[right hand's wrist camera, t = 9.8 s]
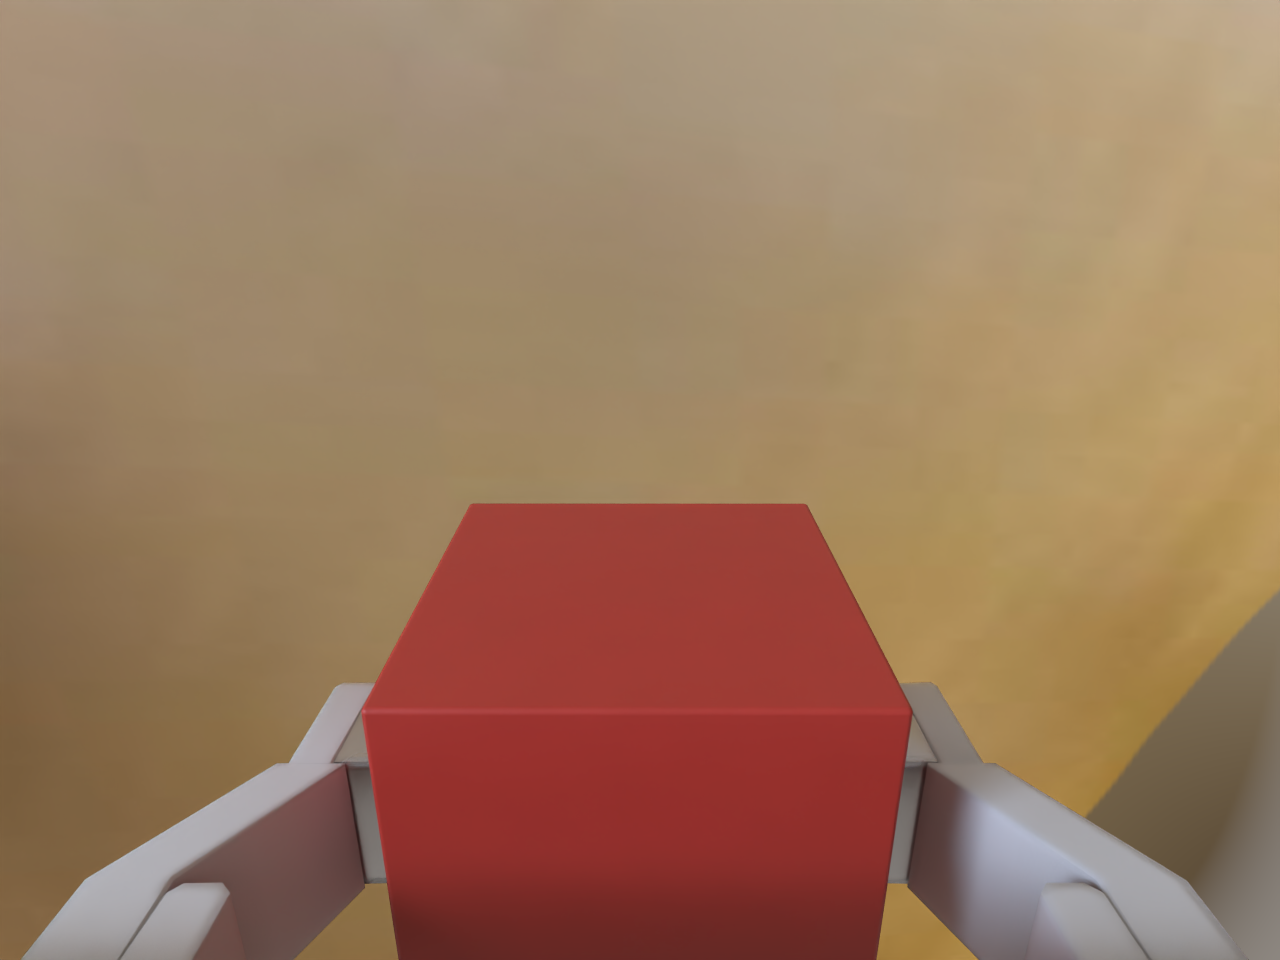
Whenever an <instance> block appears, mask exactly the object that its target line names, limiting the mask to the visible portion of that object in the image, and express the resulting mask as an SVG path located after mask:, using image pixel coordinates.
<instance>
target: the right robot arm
mask: <svg viewBox="0 0 1280 960" xmlns="http://www.w3.org/2000/svg"><path fill="white" fill-rule="evenodd" d="M899 684H900V686H901V688H902V690H903V692H904V694H905V696H906V698H907V700H908V702H909V704H910V706H911V707H912V710H913V715H912V722H911V729H910V736H909V742H908V749H907V756H906V763H905V769H904V776H903V783H902V790H901V796H900V803H899V810H898V816H897V823H896V830H895V837H894V843H893V850H892V857H891V864H890V870H889V877H888V883H904V884H908V886H907V887H908V888H909V889H910V890H911V891H912V892H913V893H914V894H915V895H916V896H917V897H918V898H919V899H920V900H921V901H922V902H923V903H924V904H925V905H926V906H927V907H928V908H929V909H930V910H931V911H932V912H933V913H934V914H935V915H936V917H937V918H938V919H939V920H940V921H941V922H942V923H943V924H944V925H945V926H946V927H947V928H948V929H949V930H950V931H951V932H952V933H953V934H954V935H955V936H956V937H957V938H958V939H959V940H960V941H961V942H962V943H963V944H964V945H965V946H966V947H967V948H968V949H969V950H970V951H971V952H972V953H973V954H974V955H975V956H976V957H977V958H978V959H979V960H1249V959H1248V958H1247V957H1246V956H1245V954H1244V953H1243V952H1242V951H1241V949H1240V948H1239V947H1238V946H1237V944H1236V943H1235V942H1234V940H1233V939H1232V938H1231V936H1230V935H1229V934H1228V933H1227V931H1226V930H1225V929H1224V928H1223V926H1222V925H1221V924H1220V922H1219V921H1218V920H1217V919H1216V917H1215V916H1214V915H1213V914H1212V912H1211V911H1210V910H1209V908H1208V907H1207V906H1206V905H1205V903H1204V902H1203V901H1202V899H1201V898H1200V897H1199V896H1198V894H1197V893H1196V892H1195V891H1194V889H1193V888H1192V887H1191V885H1190V884H1189V883H1188V882H1187V881H1186V880H1185V879H1183V878H1182V877H1180V876H1178V875H1177V874H1175V873H1173V872H1172V871H1170V870H1169V869H1167V868H1165V867H1164V866H1162V865H1160V864H1159V863H1157V862H1156V861H1154V860H1152V859H1150V858H1149V857H1147V856H1146V855H1144V854H1142V853H1141V852H1139V851H1138V850H1136V849H1134V848H1133V847H1131V846H1129V845H1128V844H1126V843H1124V842H1123V841H1121V840H1120V839H1118V838H1116V837H1115V836H1113V835H1111V834H1110V833H1108V832H1107V831H1105V830H1103V829H1102V828H1100V827H1098V826H1097V825H1095V824H1093V823H1092V822H1090V821H1089V820H1087V819H1085V818H1084V817H1082V816H1080V815H1079V814H1077V813H1076V812H1074V811H1072V810H1071V809H1069V808H1067V807H1066V806H1064V805H1062V804H1061V803H1059V802H1058V801H1056V800H1054V799H1053V798H1051V797H1049V796H1048V795H1046V794H1044V793H1043V792H1041V791H1040V790H1038V789H1036V788H1035V787H1033V786H1031V785H1030V784H1028V783H1027V782H1025V781H1023V780H1022V779H1020V778H1018V777H1017V776H1015V775H1013V774H1012V773H1010V772H1009V771H1007V770H1005V769H1004V768H1002V767H1000V766H999V765H997V764H996V763H983V761H982V760H981V758H980V756H979V755H978V753H977V751H976V750H975V748H974V746H973V745H972V743H971V741H970V740H969V738H968V736H967V735H966V733H965V732H964V730H963V728H962V727H961V725H960V723H959V722H958V720H957V718H956V717H955V715H954V713H953V712H952V710H951V708H950V707H949V705H948V703H947V702H946V700H945V699H944V697H943V695H942V694H941V692H940V690H939V689H938V687H937V686H936V685H934V684H933V683H931V682H921V683H899ZM374 685H375V683H342V684H340V685H338V686H336V687H335V688H334V690H333V691H332V693H331V695H330V696H329V698H328V699H327V701H326V703H325V704H324V706H323V708H322V709H321V711H320V712H319V714H318V716H317V717H316V719H315V721H314V722H313V724H312V726H311V727H310V729H309V730H308V732H307V734H306V735H305V737H304V739H303V740H302V742H301V744H300V745H299V747H298V748H297V750H296V752H295V753H294V755H293V757H292V758H291V760H290V761H289V763H277V764H275V765H273V766H272V767H270V768H268V769H267V770H265V771H263V772H262V773H260V774H258V775H257V776H255V777H253V778H252V779H250V780H248V781H247V782H245V783H244V784H242V785H240V786H239V787H237V788H235V789H234V790H232V791H230V792H229V793H227V794H225V795H224V796H222V797H220V798H219V799H217V800H215V801H214V802H212V803H210V804H209V805H207V806H205V807H204V808H202V809H201V810H199V811H197V812H196V813H194V814H192V815H191V816H189V817H187V818H186V819H184V820H182V821H181V822H179V823H177V824H176V825H174V826H172V827H171V828H169V829H167V830H166V831H164V832H163V833H161V834H159V835H158V836H156V837H154V838H153V839H151V840H149V841H148V842H146V843H144V844H143V845H141V846H139V847H138V848H136V849H134V850H133V851H131V852H129V853H128V854H126V855H124V856H123V857H121V858H120V859H118V860H116V861H115V862H113V863H111V864H110V865H108V866H106V867H105V868H103V869H101V870H100V871H98V872H96V873H95V874H93V875H91V876H90V877H88V878H86V879H85V880H84V881H83V883H82V884H81V885H80V886H79V888H78V889H77V890H76V891H75V892H74V894H73V895H72V896H71V897H70V899H69V900H68V901H67V902H66V904H65V905H64V906H63V907H62V909H61V910H60V911H59V912H58V914H57V915H56V916H55V917H54V919H53V920H52V921H51V922H50V924H49V925H48V926H47V927H46V929H45V930H44V931H43V932H42V934H41V935H40V936H39V937H38V939H37V940H36V941H35V942H34V944H33V945H32V946H31V947H30V949H29V950H28V951H27V952H26V954H25V955H24V956H23V957H22V958H21V960H293V959H294V958H295V957H296V956H297V955H298V954H299V953H300V952H301V951H302V950H303V949H304V948H305V947H306V946H307V945H308V944H309V943H310V942H311V941H312V940H313V939H314V938H315V937H316V936H317V935H318V934H319V933H320V932H321V931H322V930H323V929H324V928H325V927H326V926H327V925H328V924H329V923H330V922H331V921H332V920H333V919H334V918H335V917H336V916H337V915H338V914H339V913H340V912H341V911H342V910H343V909H344V908H345V907H346V906H347V905H348V904H349V903H350V902H351V901H352V900H353V899H354V898H355V897H356V896H357V895H358V894H359V893H360V892H361V891H362V890H363V889H364V888H365V884H369V883H387V879H386V873H385V866H384V860H383V853H382V846H381V840H380V833H379V827H378V820H377V813H376V807H375V800H374V794H373V787H372V780H371V774H370V767H369V761H368V754H367V747H366V741H365V734H364V728H363V721H362V715H361V710H362V707H363V705H364V704H365V702H366V700H367V698H368V696H369V694H370V692H371V690H372V688H373V687H374Z"/></svg>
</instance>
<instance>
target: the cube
mask: <svg viewBox="0 0 1280 960" xmlns="http://www.w3.org/2000/svg"><path fill="white" fill-rule="evenodd" d="M361 715H362V721H363V728H364V734H365V741H366V747H367V754H368V761H369V767H370V774H371V780H372V787H373V794H374V800H375V807H376V813H377V820H378V827H379V833H380V840H381V846H382V853H383V860H384V866H385V873H386V879H387V886H388V893H389V899H390V906H391V912H392V919H393V925H394V932H395V939H396V945H397V952H398V958H399V960H876V958H877V951H878V944H879V938H880V931H881V924H882V918H883V911H884V904H885V897H886V891H887V884H888V877H889V870H890V864H891V857H892V850H893V843H894V837H895V830H896V823H897V816H898V810H899V803H900V796H901V790H902V783H903V776H904V769H905V763H906V756H907V749H908V742H909V736H910V729H911V722H912V715H913V710H912V707H911V706H910V704H909V702H908V700H907V698H906V696H905V694H904V692H903V690H902V688H901V686H900V684H899V682H898V680H897V678H896V676H895V675H894V673H893V671H892V669H891V667H890V665H889V663H888V661H887V659H886V657H885V655H884V653H883V651H882V649H881V647H880V645H879V644H878V642H877V640H876V638H875V636H874V634H873V632H872V630H871V628H870V626H869V624H868V622H867V620H866V618H865V616H864V615H863V613H862V611H861V609H860V607H859V605H858V603H857V601H856V599H855V597H854V595H853V593H852V591H851V589H850V587H849V585H848V584H847V582H846V580H845V578H844V576H843V574H842V572H841V570H840V568H839V566H838V564H837V562H836V560H835V558H834V556H833V554H832V553H831V551H830V549H829V547H828V545H827V543H826V541H825V539H824V537H823V535H822V533H821V531H820V529H819V527H818V525H817V523H816V522H815V520H814V518H813V516H812V514H811V512H810V510H809V508H808V506H807V505H806V504H471V505H470V506H469V508H468V510H467V512H466V514H465V515H464V517H463V519H462V521H461V523H460V525H459V527H458V529H457V531H456V532H455V534H454V536H453V538H452V540H451V542H450V544H449V546H448V547H447V549H446V551H445V553H444V555H443V557H442V559H441V561H440V562H439V564H438V566H437V568H436V570H435V572H434V574H433V576H432V578H431V579H430V581H429V583H428V585H427V587H426V589H425V591H424V593H423V594H422V596H421V598H420V600H419V602H418V604H417V606H416V608H415V609H414V611H413V613H412V615H411V617H410V619H409V621H408V623H407V625H406V626H405V628H404V630H403V632H402V634H401V636H400V638H399V640H398V641H397V643H396V645H395V647H394V649H393V651H392V653H391V655H390V657H389V658H388V660H387V662H386V664H385V666H384V668H383V670H382V672H381V673H380V675H379V677H378V679H377V681H376V683H375V685H374V687H373V688H372V690H371V692H370V694H369V696H368V698H367V700H366V702H365V704H364V705H363V707H362V710H361Z"/></svg>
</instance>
